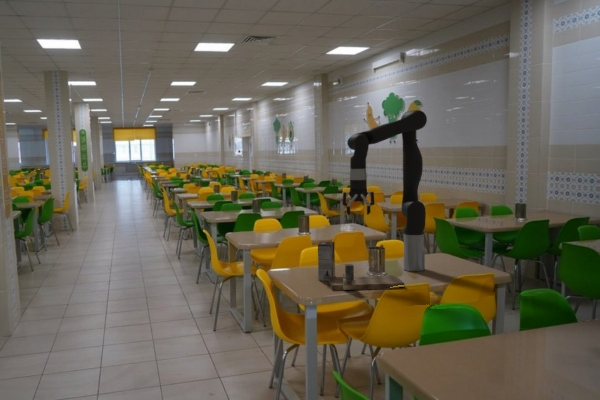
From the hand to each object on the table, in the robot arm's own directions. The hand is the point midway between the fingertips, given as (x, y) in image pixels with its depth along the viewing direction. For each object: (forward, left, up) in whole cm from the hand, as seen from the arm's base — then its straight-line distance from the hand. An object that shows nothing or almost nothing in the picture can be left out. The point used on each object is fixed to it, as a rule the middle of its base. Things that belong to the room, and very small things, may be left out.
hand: (358, 214), depth 237 cm
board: (0, +17, -28) cm, 33 cm away
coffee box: (+15, +3, -28) cm, 32 cm away
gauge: (+8, +20, -28) cm, 35 cm away
